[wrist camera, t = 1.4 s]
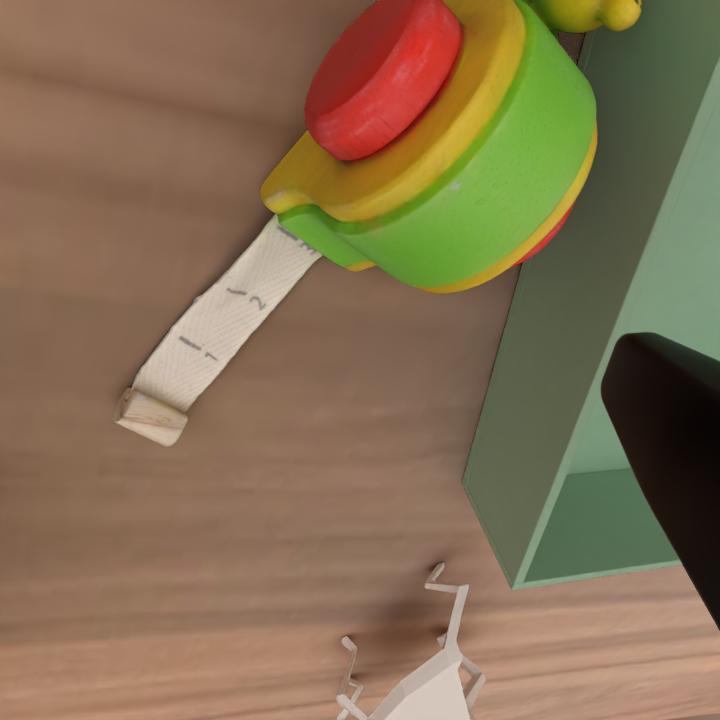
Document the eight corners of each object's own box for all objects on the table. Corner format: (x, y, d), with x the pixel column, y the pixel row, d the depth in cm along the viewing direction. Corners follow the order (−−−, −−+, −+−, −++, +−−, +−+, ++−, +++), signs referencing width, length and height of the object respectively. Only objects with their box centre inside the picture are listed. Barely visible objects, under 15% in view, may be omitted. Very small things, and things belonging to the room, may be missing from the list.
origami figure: (461, 665, 40) (493, 753, 36) (320, 692, 38) (338, 787, 34) (501, 533, 32) (546, 625, 29) (331, 558, 31) (355, 660, 27)
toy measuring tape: (635, 12, 19) (809, 75, 14) (213, 447, 25) (225, 602, 20) (502, -195, 15) (669, -213, 10) (47, 371, 21) (12, 535, 16)
